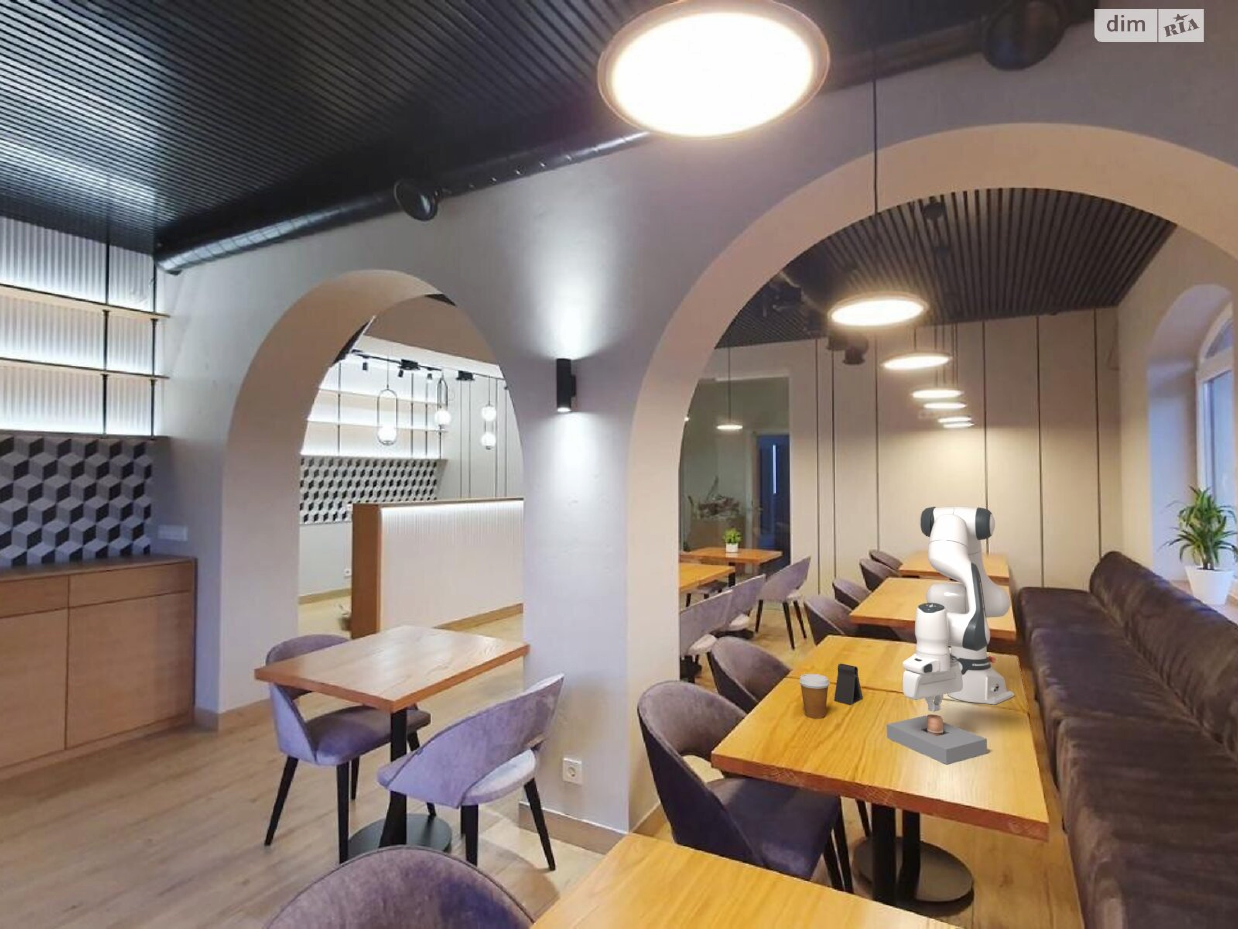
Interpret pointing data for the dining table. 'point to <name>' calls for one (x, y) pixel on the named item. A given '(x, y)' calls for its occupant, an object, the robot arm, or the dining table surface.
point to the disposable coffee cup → (814, 694)
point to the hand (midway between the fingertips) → (934, 710)
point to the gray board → (937, 740)
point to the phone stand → (848, 685)
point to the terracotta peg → (935, 725)
